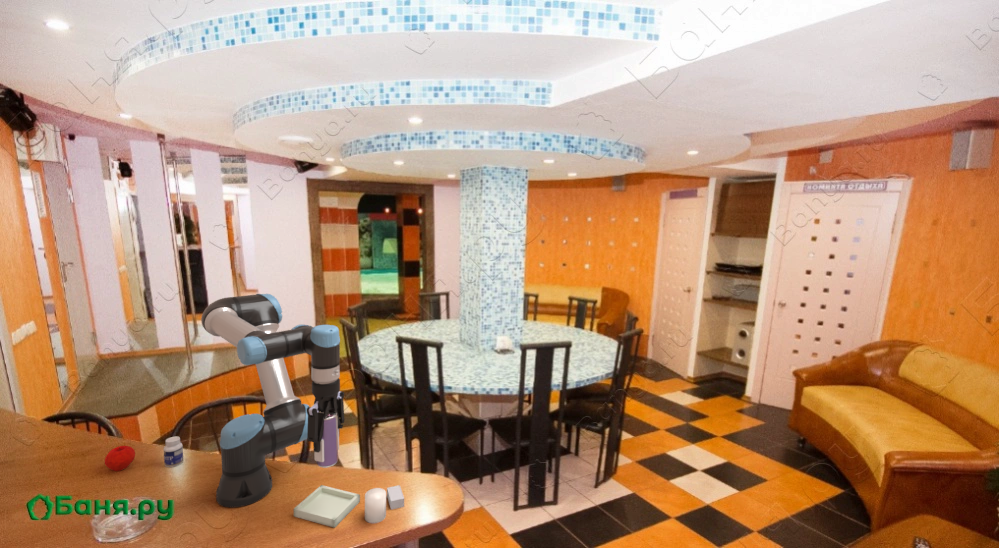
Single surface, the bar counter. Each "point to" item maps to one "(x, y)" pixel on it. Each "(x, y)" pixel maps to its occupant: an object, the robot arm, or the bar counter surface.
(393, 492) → the pale rectangular cuboid
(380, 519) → the white rounded capsule
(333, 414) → the beverage can
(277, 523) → the bar counter surface
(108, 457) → the apple
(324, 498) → the tray
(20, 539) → the bar counter surface
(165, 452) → the pill bottle
